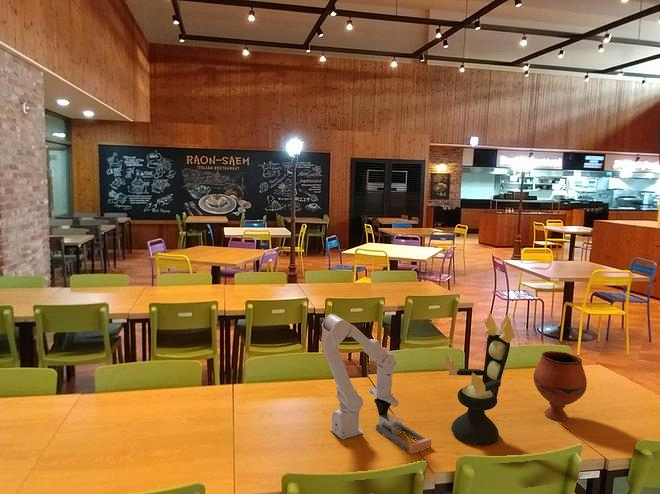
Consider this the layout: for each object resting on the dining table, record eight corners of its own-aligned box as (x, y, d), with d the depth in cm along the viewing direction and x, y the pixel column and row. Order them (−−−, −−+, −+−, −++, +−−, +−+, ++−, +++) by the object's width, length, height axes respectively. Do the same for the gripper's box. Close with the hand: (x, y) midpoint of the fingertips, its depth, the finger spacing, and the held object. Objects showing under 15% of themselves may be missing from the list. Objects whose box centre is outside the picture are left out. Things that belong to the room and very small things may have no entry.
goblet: (589, 430, 194) (595, 367, 191) (535, 424, 197) (540, 362, 194) (575, 409, 212) (581, 351, 209) (526, 403, 216) (531, 346, 213)
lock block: (391, 436, 184) (392, 422, 184) (379, 428, 190) (379, 415, 190) (401, 432, 187) (402, 419, 187) (389, 424, 193) (389, 412, 192)
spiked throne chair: (438, 426, 193) (445, 309, 188) (487, 418, 201) (495, 306, 196) (468, 451, 176) (477, 323, 170) (520, 441, 184) (530, 319, 178)
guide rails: (411, 454, 173) (412, 445, 172) (376, 429, 189) (376, 422, 188) (430, 447, 177) (431, 439, 177) (394, 424, 194) (394, 416, 193)
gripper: (405, 387, 187) (403, 423, 188) (380, 374, 199) (378, 408, 200) (390, 391, 183) (388, 427, 185) (365, 378, 195) (364, 412, 197)
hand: (382, 417), depth 192 cm, fingers closed
